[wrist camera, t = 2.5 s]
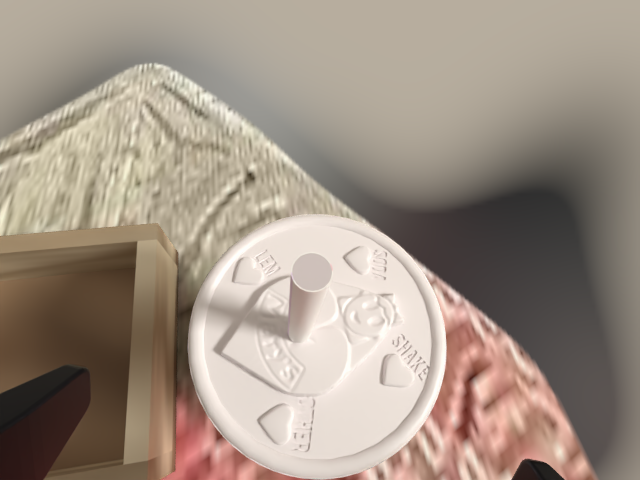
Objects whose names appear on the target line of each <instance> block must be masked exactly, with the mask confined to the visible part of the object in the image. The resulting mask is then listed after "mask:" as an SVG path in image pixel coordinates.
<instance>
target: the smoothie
mask: <svg viewBox="0 0 640 480" xmlns="http://www.w3.org/2000/svg"><path fill="white" fill-rule="evenodd" d="M188 358H189V366H190V371H191V376H192V380H193V383H194V387H195V390H196V393H197V395H198V398H199V400H200V402H201V404H202V406H203V408H204V410H205V412H206V414H207V415H208V417H209V418H210V420H211V421H212V423H213V424H214V426H215V427H216V428H217V430H218V431H219V432H220V433H221V434H222V436H223V437H224V438H225V439H226V440H227V441H228V442H229V443H230V444H231V445H232V446H233V447H234V448H236V449H237V450H238V451H240V452H241V453H242V454H243V455H245V456H246V457H248V458H249V459H251V460H253V461H254V462H256V463H258V464H259V465H261V466H264V467H266V468H268V469H270V470H272V471H275V472H278V473H281V474H284V475H288V476H293V477H298V478H305V479H333V478H340V477H346V476H349V475H353V474H357V473H360V472H362V471H365V470H367V469H370V468H372V467H374V466H376V465H378V464H380V463H382V462H383V461H385V460H387V459H388V458H390V457H391V456H392V455H394V454H395V453H397V452H398V451H399V450H400V449H401V448H402V447H403V446H405V445H406V444H407V443H408V442H409V441H410V440H411V439H412V437H413V436H414V435H415V434H416V433H417V432H418V430H419V429H420V428H421V426H422V425H423V424H424V422H425V421H426V419H427V417H428V415H429V414H430V412H431V410H432V408H433V406H434V404H435V402H436V399H437V397H438V394H439V391H440V388H441V385H442V381H443V376H444V371H445V363H446V333H445V326H444V321H443V317H442V313H441V309H440V306H439V303H438V300H437V298H436V295H435V293H434V291H433V289H432V287H431V285H430V283H429V281H428V279H427V278H426V276H425V275H424V273H423V272H422V270H421V269H420V267H419V266H418V265H417V264H416V262H415V261H414V260H413V259H412V257H411V256H410V255H409V254H408V253H407V252H406V251H405V250H404V249H403V248H401V247H400V246H399V245H398V244H397V243H396V242H394V241H393V240H391V239H390V238H389V237H387V236H386V235H384V234H383V233H381V232H379V231H378V230H376V229H374V228H372V227H370V226H368V225H365V224H363V223H360V222H358V221H355V220H351V219H348V218H344V217H339V216H333V215H325V214H307V215H298V216H291V217H287V218H283V219H279V220H276V221H273V222H270V223H268V224H266V225H263V226H261V227H259V228H257V229H255V230H253V231H252V232H250V233H248V234H247V235H245V236H244V237H242V238H241V239H240V240H238V241H237V242H236V243H235V244H233V245H232V246H231V247H230V248H229V249H228V250H227V251H226V252H225V253H224V254H223V255H222V256H221V257H220V259H219V260H218V261H217V262H216V263H215V265H214V266H213V267H212V269H211V270H210V272H209V273H208V275H207V277H206V278H205V280H204V282H203V284H202V286H201V288H200V290H199V292H198V295H197V297H196V300H195V303H194V306H193V310H192V314H191V318H190V324H189V332H188Z"/></svg>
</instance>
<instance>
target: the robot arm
mask: <svg viewBox="0 0 640 480" xmlns="http://www.w3.org/2000/svg"><path fill="white" fill-rule="evenodd" d="M90 401H91V382H90V371H89V369H88V368H86V367H82V366H78V365H73V364H66V365H63V366H61V367H59V368H56V369H54V370H52V371H50V372H47V373H45V374H43V375H41V376H38V377H36V378H34V379H32V380H29V381H27V382H25V383H23V384H20V385H18V386H16V387H14V388H11V389H9V390H7V391H5V392H2V393H0V480H44V479H45V477H46V476H47V474H48V472H49V471H50V469H51V468H52V466H53V464H54V463H55V461H56V460H57V458H58V456H59V455H60V453H61V451H62V450H63V448H64V447H65V445H66V443H67V442H68V440H69V439H70V437H71V435H72V434H73V432H74V431H75V429H76V427H77V426H78V424H79V423H80V421H81V419H82V418H83V416H84V415H85V413H86V411H87V410H88V407H89V405H90ZM512 480H564V479H563V478H562V477H561V476H560V475H559V474H558V473H557V472H556V471H555V470H554V469H553V468H552V467H551V466H550V465H548V464H547V463H545V462H542V461H537V460H532V459H525V460H523V461H522V462H521V463H520V465H519V467H518V469H517V471H516V472H515V474H514V476H513V478H512Z"/></svg>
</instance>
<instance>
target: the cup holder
mask: <svg viewBox="0 0 640 480" xmlns="http://www.w3.org/2000/svg"><path fill="white" fill-rule="evenodd" d="M177 310H178V252H177V250H176V249H175V248H174V246H173V245H172V243H171V242H170V240H169V239H168V238H167V236H166V235H165V233H164V232H163V230H162V229H161V227H160V226H159V225H158V223H153V224H141V225H129V226H117V227H105V228H93V229H81V230H69V231H57V232H45V233H33V234H21V235H9V236H0V393H2V392H5V391H7V390H9V389H11V388H14V387H16V386H18V385H20V384H23V383H25V382H27V381H29V380H32V379H34V378H36V377H38V376H41V375H43V374H45V373H47V372H50V371H52V370H54V369H56V368H59V367H61V366H63V365H66V364H73V365H78V366H82V367H86V368H88V369H89V371H90V382H91V401H90V405H89V407H88V410H87V411H86V413H85V415H84V416H83V418H82V419H81V421H80V423H79V424H78V426H77V427H76V429H75V431H74V432H73V434H72V435H71V437H70V439H69V440H68V442H67V443H66V445H65V447H64V448H63V450H62V451H61V453H60V455H59V456H58V458H57V460H56V461H55V463H54V464H53V466H52V468H51V469H50V471H49V472H48V474H47V476H46V477H45V479H44V480H161V479H162V478H164V477H166V476H167V475H169V474H171V473H172V472H174V471H175V459H176V385H177Z"/></svg>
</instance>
